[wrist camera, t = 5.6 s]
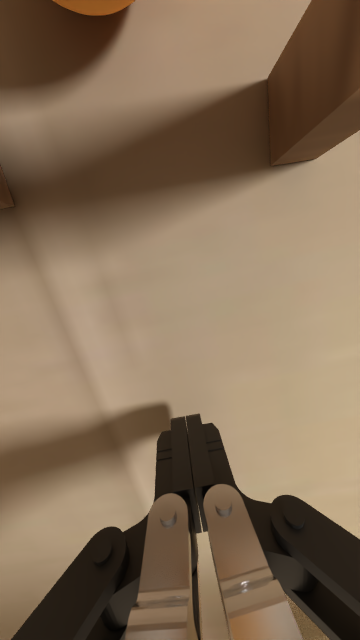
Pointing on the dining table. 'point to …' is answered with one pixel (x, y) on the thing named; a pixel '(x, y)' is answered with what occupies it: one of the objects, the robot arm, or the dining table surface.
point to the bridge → (308, 86)
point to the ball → (94, 6)
